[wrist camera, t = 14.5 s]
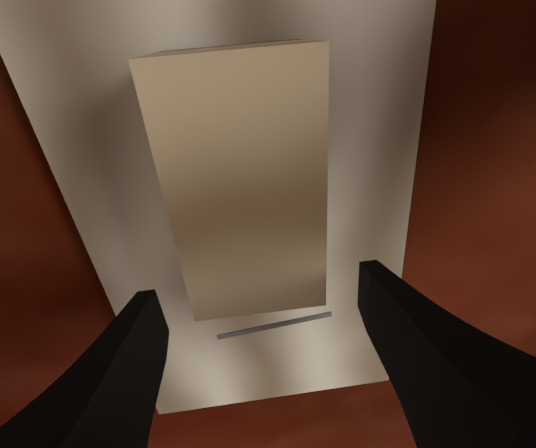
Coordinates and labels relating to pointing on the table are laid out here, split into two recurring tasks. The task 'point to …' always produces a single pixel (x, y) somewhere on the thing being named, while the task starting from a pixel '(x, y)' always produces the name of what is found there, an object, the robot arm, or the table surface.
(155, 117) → the block
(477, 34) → the table surface
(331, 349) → the birch board
